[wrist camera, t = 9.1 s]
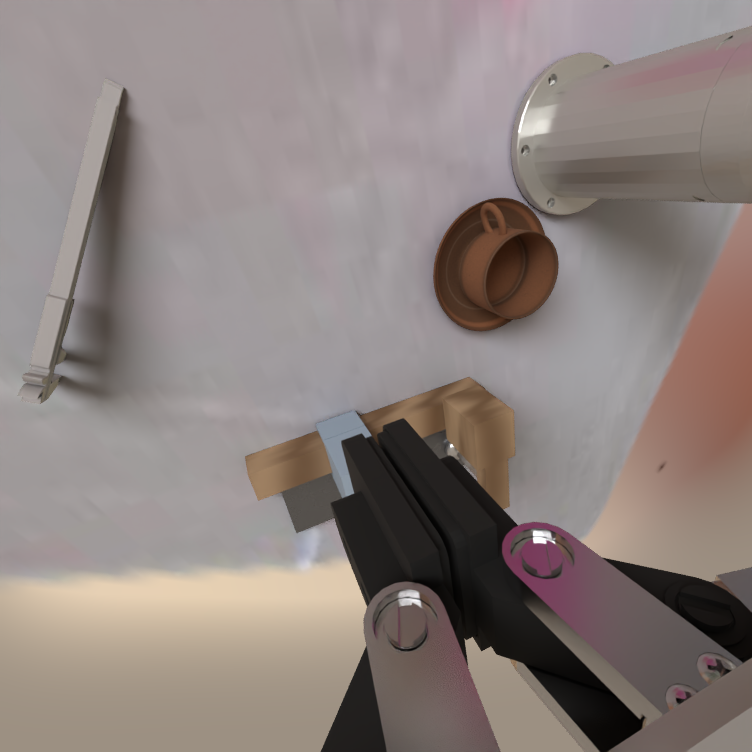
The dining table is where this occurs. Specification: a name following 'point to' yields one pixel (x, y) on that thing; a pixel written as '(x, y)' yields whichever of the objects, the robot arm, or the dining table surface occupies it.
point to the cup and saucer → (494, 265)
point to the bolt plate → (316, 495)
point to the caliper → (72, 250)
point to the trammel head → (340, 446)
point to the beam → (426, 416)
